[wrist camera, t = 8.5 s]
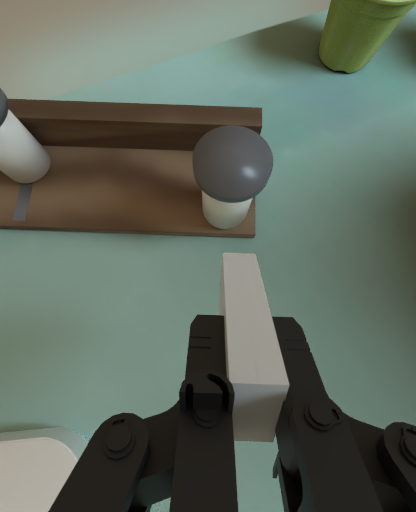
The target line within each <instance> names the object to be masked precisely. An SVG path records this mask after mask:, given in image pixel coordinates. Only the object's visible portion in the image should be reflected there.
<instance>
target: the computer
mask: <svg viewBox="0 0 416 512" xmlns="http://www.w3.org/2000/svg"><path fill="white" fill-rule="evenodd" d="M87 445H88V443H87V442H86V441H85V439H84V438H83V437H82V436H81V435H79V434H78V433H77V432H75V431H73V430H71V429H68V428H64V427H52V428H43V429H33V430H23V431H13V432H4V433H0V512H48V511H49V509H50V508H51V506H52V504H53V503H54V501H55V499H56V497H57V496H58V494H59V492H60V491H61V489H62V487H63V486H64V484H65V482H66V480H67V479H68V477H69V475H70V474H71V472H72V470H73V468H74V467H75V465H76V463H77V462H78V460H79V458H80V457H81V455H82V453H83V451H84V450H85V448H86V446H87Z"/></svg>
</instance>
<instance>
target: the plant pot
mask: <svg viewBox="0 0 416 512" xmlns="http://www.w3.org/2000/svg"><path fill="white" fill-rule="evenodd" d="M415 5H416V0H331V3H330V7H329V11H328V15H327V19H326V22H325V26H324V30H323V34H322V37H321V41H320V45H319V56H320V59H321V61H322V62H323V63H324V64H325V65H326V66H327V67H328V68H330V69H332V70H334V71H339V70H342V71H345V72H347V73H353V72H356V71H359V70H361V69H362V68H364V67H365V66H366V64H367V63H368V62H369V60H370V59H371V58H372V57H373V55H374V54H375V53H376V51H377V50H378V49H379V48H380V46H381V45H382V44H383V42H384V41H385V40H386V38H387V37H388V36H389V35H390V33H391V32H392V31H393V30H394V28H395V27H396V26H397V24H398V23H399V22H400V21H401V19H402V18H403V17H404V15H405V14H406V13H407V12H408V11H409V10H411V9H412V8H413V7H414V6H415Z"/></svg>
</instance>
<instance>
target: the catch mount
mask: <svg viewBox="0 0 416 512" xmlns="http://www.w3.org/2000/svg"><path fill="white" fill-rule="evenodd" d="M8 103H9V110H10V111H11V112H12V113H13V115H14V116H15V117H16V118H17V119H18V120H19V121H20V122H21V123H22V124H23V126H24V127H25V128H26V129H27V130H28V131H29V132H30V133H31V134H32V136H33V137H34V138H35V139H36V140H37V141H38V142H39V143H40V144H41V145H42V147H43V148H44V149H45V150H46V151H47V152H48V154H49V156H50V167H49V169H48V171H47V173H46V174H45V175H44V176H43V177H42V178H40V179H39V180H37V181H35V182H32V183H18V182H16V181H14V180H12V179H11V178H10V177H8V176H7V175H6V174H4V173H3V172H2V171H1V170H0V229H22V230H50V231H78V232H105V233H133V234H160V235H188V236H215V237H243V238H254V236H255V197H253V198H252V201H251V204H250V207H249V209H248V212H247V215H246V217H245V219H244V220H243V222H242V223H241V224H239V225H238V226H236V227H234V228H231V229H220V228H217V227H214V226H213V225H211V224H210V223H209V222H208V221H207V220H206V218H205V217H204V214H203V210H202V189H201V188H200V187H199V186H198V184H197V182H196V180H195V177H194V173H193V164H192V157H193V152H194V148H195V146H196V144H197V143H198V141H199V140H200V139H201V137H203V136H204V135H205V134H206V133H207V132H209V131H211V130H213V129H215V128H218V127H221V126H227V125H236V126H242V127H246V128H249V129H251V130H253V131H255V132H256V133H258V134H259V135H260V132H261V129H262V108H252V107H224V106H196V105H167V104H139V103H111V102H82V101H54V100H26V99H24V100H23V99H8Z"/></svg>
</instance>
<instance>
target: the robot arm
mask: <svg viewBox="0 0 416 512" xmlns="http://www.w3.org/2000/svg"><path fill="white" fill-rule="evenodd" d="M275 433H276V438H277V443H278V449H279V451H278V454H277V457H276V460H275V464H274V467H273V478H277V475H278V476H279V482H280V488H281V494H282V500H283V506H284V512H416V426H413V425H410V424H407V423H404V422H394V423H392V424H390V425H388V426H387V427H386V428H385V430H384V429H381V428H378V427H375V426H372V425H369V424H366V423H364V422H361V421H358V420H356V419H354V418H351V417H349V416H348V415H346V414H345V413H343V412H342V411H341V409H340V408H339V407H338V406H337V405H336V404H335V403H334V402H333V401H332V400H331V399H330V398H329V397H328V395H327V393H326V391H325V388H324V385H323V383H322V380H321V377H320V375H319V372H318V369H317V367H316V364H315V361H314V359H313V356H312V353H311V352H310V348H309V345H308V343H307V342H306V337H305V335H304V332H303V329H302V327H301V326H300V325H299V324H298V323H297V322H296V321H295V320H294V318H293V317H272V315H271V312H270V308H269V304H268V300H267V296H266V292H265V288H264V284H263V281H262V277H261V273H260V269H259V265H258V261H257V257H256V254H250V253H223V255H222V270H221V285H220V315H197V316H196V317H195V319H194V320H193V322H192V323H191V326H190V336H189V345H188V355H187V365H186V375H185V380H184V381H183V382H182V385H181V388H180V391H179V401H178V402H177V403H176V404H175V405H174V406H173V407H172V408H170V409H169V410H168V411H165V412H163V413H161V414H158V415H155V416H152V417H148V418H145V419H142V418H140V417H139V416H137V415H135V414H133V413H121V414H117V415H114V416H112V417H110V418H109V419H107V420H106V421H104V422H103V423H102V424H101V425H100V427H99V428H98V429H97V430H96V432H95V433H94V434H93V436H92V438H91V440H90V441H89V443H88V445H87V446H86V448H85V450H84V451H83V453H82V455H81V457H80V458H79V460H78V462H77V463H76V465H75V467H74V468H73V470H72V472H71V474H70V475H69V477H68V479H67V480H66V482H65V484H64V486H63V487H62V489H61V491H60V492H59V494H58V496H57V497H56V499H55V501H54V503H53V504H52V506H51V508H50V509H49V511H48V512H150V509H151V506H152V504H154V503H157V502H159V501H162V500H164V499H167V498H169V497H171V501H170V511H169V512H238V502H237V485H236V468H235V451H234V440H235V441H262V442H273V440H274V437H275Z"/></svg>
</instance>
